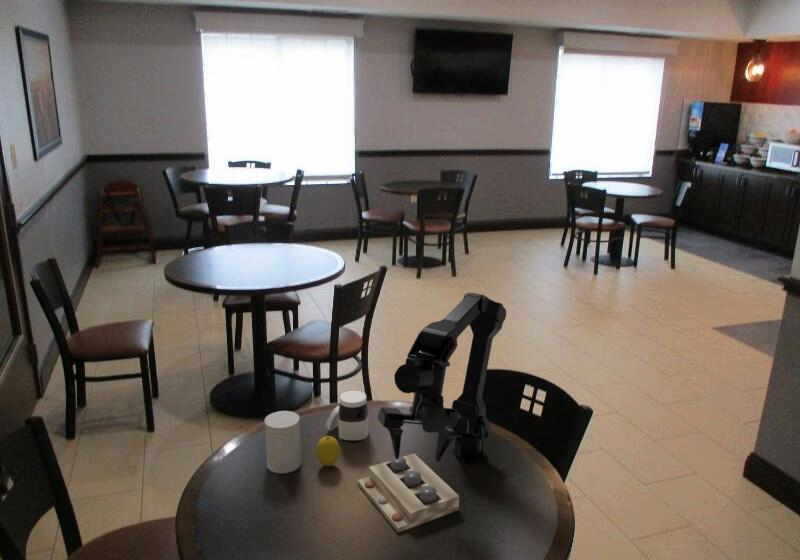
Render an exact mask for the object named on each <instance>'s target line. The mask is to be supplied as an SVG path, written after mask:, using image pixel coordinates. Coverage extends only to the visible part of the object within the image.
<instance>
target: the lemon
mask: <svg viewBox="0 0 800 560" xmlns="http://www.w3.org/2000/svg"><path fill="white" fill-rule="evenodd" d="M340 449H341V448H340V444H339V442H338V440H337V439H336V438H335V437H333V436H330V435H327V436H324V437H322V438H321V439H320V440H319V441H318V442H317V445H316V457H317V460H318V462H319V463H321V465H324V466H326V467H329V466H331V465H334V464H335V463H336V462H337V461H338V459H339V457H340V451H341V450H340Z"/></svg>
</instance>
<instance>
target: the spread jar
mask: <svg viewBox="0 0 800 560" xmlns="http://www.w3.org/2000/svg"><path fill="white" fill-rule="evenodd" d="M339 402H340V403H339V405H337V406H336V407H335V408H334V409H333V410H332V411H331V413H330V414H329V416H328V418H327V419H326V423H325V428H326V430H328V431H331V432H332V431H334V430H335V429H336V428H337V427H338V436H339V440H340V441H342V442H344V443H346V444H351V445H352V444H360V443H362V442H365V441H366V440H367V439H368V435H369V405H368V402H367V395H366V393H364V392H363V391H359V390H349V391H345V392H342V393H341V394H340V395H339Z"/></svg>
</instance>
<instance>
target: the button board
mask: <svg viewBox="0 0 800 560" xmlns="http://www.w3.org/2000/svg"><path fill="white" fill-rule="evenodd" d="M403 457H404V458H405V459H406V470H405V471H402V472H399V473H393V472H392V471H391V459H390V460H387V461H383V462H380V463H378V464H375V465H372V466H369V467H368V468H369V470H368V474H369V476H367V477H363V478H360V479H357V485H358V486H359V487H360V489H361V490H362V491H363V492H364V494H365V495H366V496H367V497H368V499H370V501H371V502H372V504H373V505H374V506H375V507H376V508H377V509H378V511H380V513H381V514H382V515H383V517H384V518H385V519H386V520H387V522H388V523H389V524H390V525H391V526H392V527H393V528H394V530H395V531H396V533H401V532H403V531H406V530H409V529H411V528H414V527H417V526H420V525H423V524H426V523H428V522H430V521H433V520H436V519H438V518H441V517H444V516H446V515H449V514H452V513H454V511H455V512H457V511H459V510H460V496H459V494H458V493H457V492H455V491H454V490H453V489H452V488H451V487H450V486H449V485H448V484H447V483H446V482H445V481H444V480H443V479H442V478H441V477H440V476H439V475H437V473H435V472H434V470H433V469H431V468H430V467H429V466H428V465H427V464H426V463H425V462H424V461H423V460H422V459H421V458H419V456H417V454H416V453H411V454H407V455H404V456H403ZM411 470H414V471H418V472H419V473H420V474H421V485H420V486H417V487H414V488H408V487H407V486H406V485H405V484H404V480H405V473H406V472H407V471H411ZM423 486H432V487H434V488H435V489H436V490H437V496H436V502H434V503H431V504H428V505H425V504H423V503H422V502H421V501H420V488H421V487H423Z"/></svg>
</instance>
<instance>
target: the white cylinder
mask: <svg viewBox="0 0 800 560" xmlns="http://www.w3.org/2000/svg"><path fill="white" fill-rule="evenodd" d="M300 423H301V422H300V415H299V414H298V413H297V412H294V411H290V410H279V411H276V412H272V413H270V414H268V415H267V416H266V417H265V418H264V433H265V452H266V467H267V469H268V470H269V471H270V472H273V473H275V474H288V473H291V472H294V471H296V470H298V469H299V468H300V467H301V464H302V447H301V446H302V443H301V427H300V426H301V425H300Z"/></svg>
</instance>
